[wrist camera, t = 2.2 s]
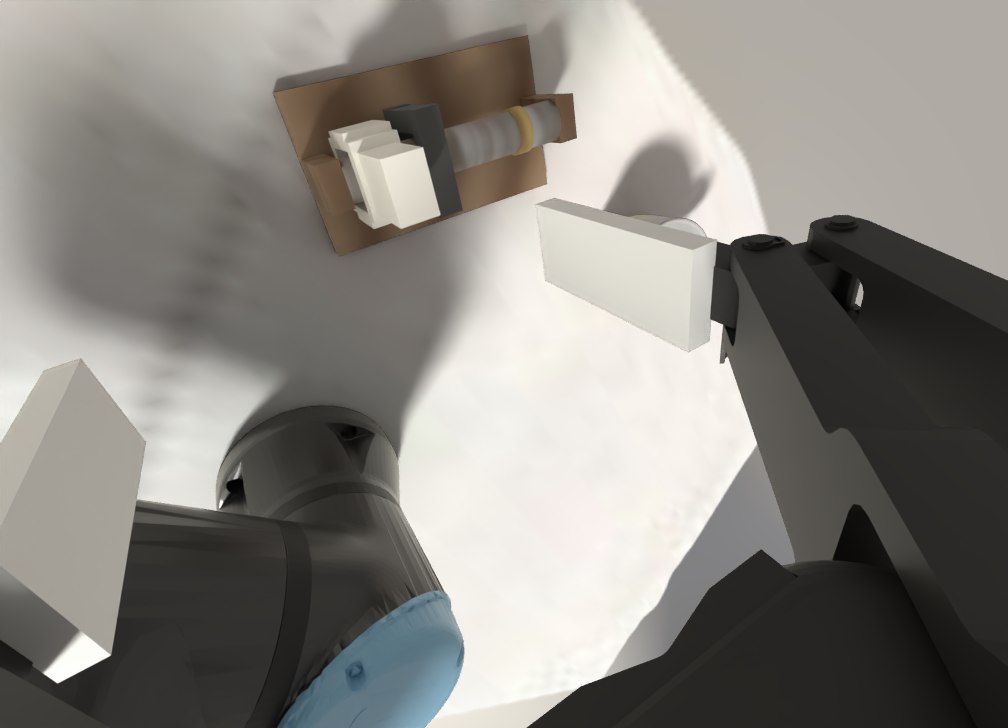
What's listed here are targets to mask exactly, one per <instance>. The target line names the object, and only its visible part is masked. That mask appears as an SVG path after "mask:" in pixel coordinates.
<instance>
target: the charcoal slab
mask: <svg viewBox="0 0 1008 728" xmlns="http://www.w3.org/2000/svg"><path fill="white" fill-rule="evenodd" d="M382 110H383V114H384V117H385V121H390V124H391V128H392V129H394V130H397V131H398V135H399V139H400V141H403V140H407V139H410V138H414V141H415V145H416V146H420V147H423V149H424V153H425V157H426V161H427V165H428V168H429V172H430V176H431V180H432V184H433V188H434V192H435V196H436V199H437V203H438V207H439V211H440V216H439V217H441V218H443V217H445V216H448V215H451V214H454V213H457V212H460V211H463V208H462V204H461V200H460V195H459V191H458V187H457V182H456V178H455V174H454V169H453V165H452V161H451V156H450V152H449V148H448V143H447V139H446V135H445V130H444V126H443V122H442V118H441V113H440V109H439V105H438V104H427V105H410V104H402V105H398V106H394V107H390V108H386V109H382Z"/></svg>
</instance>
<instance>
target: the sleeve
mask: <svg viewBox="0 0 1008 728" xmlns="http://www.w3.org/2000/svg"><path fill="white" fill-rule="evenodd" d="M328 132H329V135H330V138H328V140H329V143H330V146H331V148H332V151H333V154H334V157H335V158H336V159H339V158H343V157H346V156H349V158H350V161H351V164H352V167H353V170H354V172H355V175H356V178H357V181H358V184H359V187H360V190H361V193H362V196H363V199H364V201H363V202H360V203H356V204H354V205H355V208H356V209H353V210H354V211H356V212H357V214H358V217H359V219H360V220H362V221H363V222H364V223H366V224H367V225H369V226H370V227H372V228H373V229H376V228H379V227H382V226H385V225H388V224H391V223H392V224H394V225H396V226H397V227H399V228H400V229H402V228H405V227H408V226H411V225H414V224H417V223H420V222H423V221H426V220H428V219H431V218H434V217H437V216H440V211H439V207H438V203H437V199H436V196H435V192H434V188H433V184H432V180H431V176H430V172H429V168H428V165H427V161H426V157H425V153H424V149H423V147H420V146H414V145H409V144H403V143H401V142H400V139H399V135H398V131H397V130H394V129H392V128H391V124H390V121H381V120H370V121H366V122H362V123H358V124H355V125H351V126H347V127H343V128H339V129H335V130H332V131H328Z"/></svg>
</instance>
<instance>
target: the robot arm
mask: <svg viewBox="0 0 1008 728" xmlns="http://www.w3.org/2000/svg"><path fill="white" fill-rule="evenodd" d="M535 206H536V213H537V221H538V228H539V236H540V244H541V251H542V259H543V266H544V274H545V281H547V282H549V283H551V284H553V285H555V286H557V287H559V288H561V289H563V290H565V291H567V292H569V293H571V294H573V295H575V296H577V297H579V298H581V299H583V300H585V301H587V302H589V303H591V304H593V305H595V306H597V307H599V308H601V309H603V310H605V311H607V312H609V313H611V314H613V315H615V316H617V317H619V318H621V319H623V320H625V321H626V322H628V323H630V324H632V325H634V326H636V327H638V328H640V329H642V330H644V331H646V332H648V333H650V334H652V335H654V336H656V337H658V338H660V339H662V340H664V341H666V342H668V343H670V344H672V345H674V346H676V347H678V348H680V349H682V350H684V351H686V352H690V351H692V350H694V349H696V348H698V347H699V346H701V345H703V344H705V343H707V342H709V340H710V327H711V320H713V321H716V322H718V323H721V324H723V332H722V343H721V354H720V363H724V362H725V358H726V357H727V356H728V358H729V361H730V364H731V367H732V370H733V373H734V376H735V379H736V382H737V385H738V388H739V391H740V394H741V397H742V400H743V403H744V405H745V408H746V411H747V414H748V417H749V420H750V423H751V426H752V429H753V432H754V435H755V438H756V441H757V444H758V447H759V450H760V453H761V455H762V459H763V461H764V465H765V467H766V470H767V473H768V476H769V479H770V482H771V485H772V488H773V491H774V494H775V497H776V500H777V503H778V506H779V509H780V512H781V515H782V518H783V521H784V524H785V527H786V530H787V533H788V536H789V538H790V541H791V544H792V547H793V551H794V556H795V562H796V563H793V564H788V565H783V566H782V565H780V564H779V563H778V562H776V561H775V560H774V559H773V558H771V557H770V556H769V555H768V554H766V553H765V552H764V551H763V550H760V551H758V552H757V553H756V554H754V555H753V556H752V557H750V558H749V559H748V560H746V561H745V562H744V563H742V564H741V565H740V566H739V567H737V568H736V569H735V570H733V571H732V572H731V573H729V574H728V575H727V576H725V577H724V578H723V579H721V580H720V581H719V582H718V583H716V584H715V585H714V586H712V587H711V588H710V589H709V590H708V591H707V593H706V594H705V596H704V597H703V599H702V600H701V602H700V603H699V605H698V606H697V608H696V609H695V611H694V613H693V614H692V615H691V617H690V618H689V620H688V621H687V623H686V625H685V626H684V627H683V629H682V631H681V632H680V633H679V635H678V636H677V638H676V639H675V641H674V642H673V644H672V645H671V647H670V648H669V650H668V651H667V652H666V653H665V654H663V655H662V656H660V657H658V658H656V659H653V660H650V661H647V662H645V663H642V664H639V665H637V666H634V667H632V668H629V669H626V670H623V671H621V672H618V673H616V674H613V675H611V676H608V677H605V678H602V679H600V680H597V681H594V682H592V683H589V684H586V685H584V686H581V687H580V688H578V689H577V690H576V691H574V692H573V693H572V694H570V695H569V696H568V697H566V698H565V699H564V700H562V701H561V702H560V703H559V704H557V705H556V706H555V707H553V708H552V709H551V710H549V711H548V712H547V713H546V714H544V715H543V716H542V717H540V718H539V719H538V720H536V721H535V722H534V723H532V724H531V725H530V726H528V727H527V728H1008V280H1005V279H1003V278H1000V277H998V276H995V275H993V274H991V273H989V272H986V271H984V270H982V269H979V268H977V267H975V266H972V265H970V264H968V263H966V262H963V261H961V260H959V259H956V258H954V257H952V256H949V255H947V254H945V253H942V252H940V251H938V250H936V249H933V248H931V247H928V246H926V245H924V244H921V243H919V242H917V241H914V240H912V239H910V238H908V237H905V236H903V235H901V234H898V233H896V232H894V231H891V230H889V229H887V228H884V227H882V226H880V225H877V224H875V223H873V222H870V221H868V220H864V219H861V218H855V217H852V216H849V215H835V216H832V217H829V218H822V219H819V220H816V221H814V222H812V223H811V224H810V229H809V234H808V240H807V242H804V243H799V244H795V245H792V244H791V243H790V242H789V241H788V240H786V239H784V238H782V237H777V236H770V235H766V234H757V235H752V236H746V237H742V238H739V239H736V240H734V241H733V242H732V243H731V244H730V245H727V244H724V243H720V242H717V240H716V239H712V238H708V237H704V236H700V235H696V234H692V233H689V232H685V231H681V230H677V229H673V228H669V227H665V226H661V225H657V224H654V223H650V222H646V221H642V220H638V219H634V218H630V217H626V216H622V215H619V214H615V213H611V212H607V211H603V210H599V209H595V208H591V207H588V206H584V205H580V204H576V203H572V202H568V201H564V200H560V199H556V198H553V199H550V200H547V201H544V202H541V203H538V204H535ZM860 282H861V284H862V286H863V291H864V294H863V300H862V304H861V307H860V306H858V305H857V304H855V301H856V297H857V293H858V289H859V285H860ZM145 445H146V441H145V440H144V439H143V438H142V436H141V435H140V434H139V432H138V431H137V430H136V428H135V427H134V426H133V425H132V423H131V422H130V421H129V419H128V418H127V417H126V416H125V414H124V413H123V412H122V410H121V409H120V408H119V407H118V405H117V404H116V403H115V401H114V400H113V399H112V398H111V396H110V395H109V394H108V392H107V391H106V390H105V389H104V387H103V386H102V385H101V383H100V382H99V381H98V379H97V378H96V377H95V376H94V374H93V373H92V372H91V370H90V369H89V368H88V367H87V365H86V364H85V363H84V361H83V360H82V359H81V358H80V359H77V360H74V361H71V362H68V363H65V364H62V365H59V366H56V367H53V368H50V369H47V370H44V371H43V373H42V375H41V376H40V378H39V380H38V381H37V383H36V385H35V386H34V388H33V390H32V391H31V393H30V395H29V396H28V398H27V400H26V401H25V403H24V405H23V407H22V408H21V410H20V412H19V413H18V415H17V417H16V418H15V420H14V422H13V423H12V425H11V427H10V428H9V430H8V432H7V433H6V435H5V437H4V438H3V440H2V442H1V444H0V728H425V727H426V726H427V724H428V723H429V722H430V721H431V720H432V719H433V718H434V717H435V715H436V714H437V713H438V712H439V710H440V709H441V708H442V706H443V705H444V704H445V702H446V701H447V699H448V698H449V696H450V694H451V693H452V691H453V689H454V687H455V685H456V683H457V681H458V679H459V676H460V673H461V670H462V666H463V661H464V644H463V642H464V641H463V638H462V634H461V632H460V629H459V627H458V625H457V622H456V620H455V617H454V615H453V613H452V610H451V602H450V598H449V597H448V595H447V594H446V593H445V592H444V590H443V588H442V586H441V584H440V582H439V580H438V578H437V576H436V575H435V573H434V571H433V569H432V567H431V565H430V563H429V561H428V559H427V557H426V555H425V554H424V552H423V550H422V548H421V546H420V544H419V542H418V540H417V538H416V536H415V534H414V533H413V531H412V529H411V527H410V525H409V523H408V521H407V519H406V517H405V516H404V514H403V512H402V510H401V508H400V505H399V466H398V461H397V457H396V454H395V451H394V449H393V447H392V445H391V444H390V442H389V440H388V438H387V436H386V435H385V433H384V432H383V430H382V429H381V428H380V427H379V426H378V425H377V424H376V423H375V422H374V421H372V420H371V419H370V418H368V417H366V416H365V415H363V414H361V413H358V412H356V411H353V410H350V409H346V408H341V407H334V406H313V407H305V408H300V409H296V410H292V411H289V412H286V413H283V414H280V415H278V416H275V417H273V418H271V419H269V420H267V421H265V422H263V423H262V424H260V425H258V426H257V427H255V428H254V429H253V430H251V431H250V432H249V433H247V434H246V435H245V436H244V437H243V438H242V439H241V440H240V441H239V442H238V443H237V444H236V445H235V446H234V447H233V448H232V450H231V451H230V452H229V454H228V455H227V457H226V458H225V460H224V462H223V464H222V466H221V468H220V471H219V474H218V478H217V483H216V505H217V511H213V510H207V509H200V508H193V507H186V506H179V505H172V504H165V503H158V502H151V501H144V500H137V494H138V488H139V482H140V475H141V469H142V463H143V457H144V451H145Z"/></svg>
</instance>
